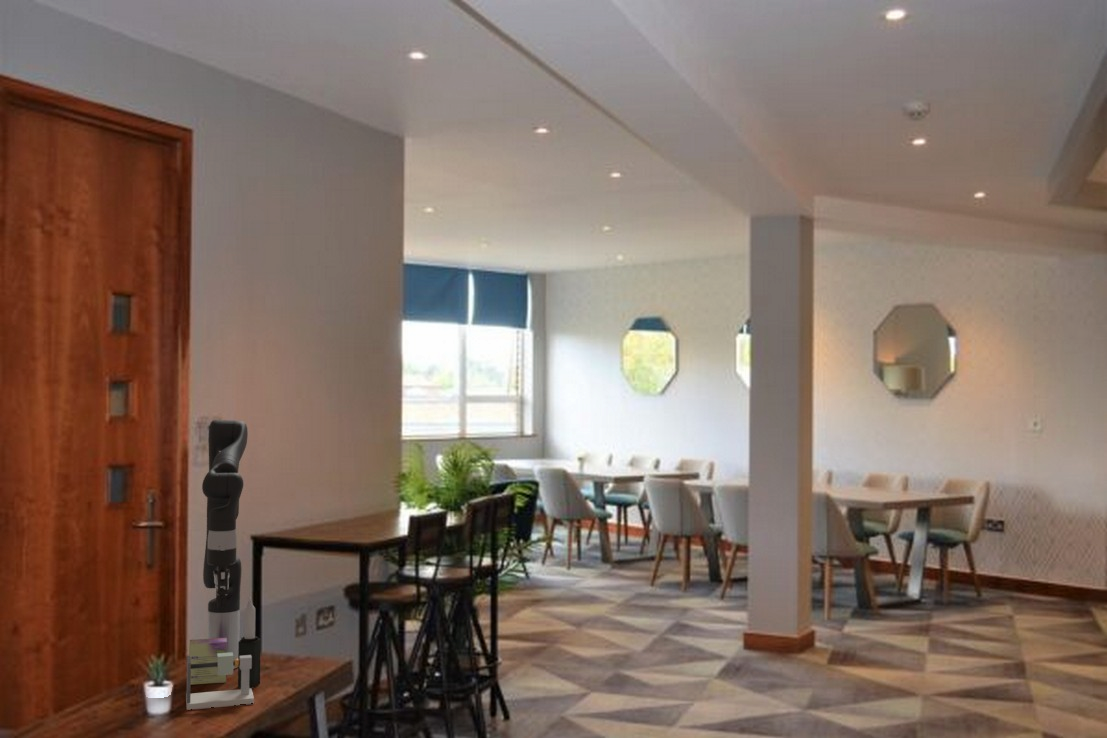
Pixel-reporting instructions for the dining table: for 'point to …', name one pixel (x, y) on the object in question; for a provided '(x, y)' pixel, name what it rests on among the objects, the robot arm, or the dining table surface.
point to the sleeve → (225, 663)
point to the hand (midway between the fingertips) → (221, 605)
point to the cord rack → (221, 697)
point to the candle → (250, 646)
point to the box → (206, 659)
